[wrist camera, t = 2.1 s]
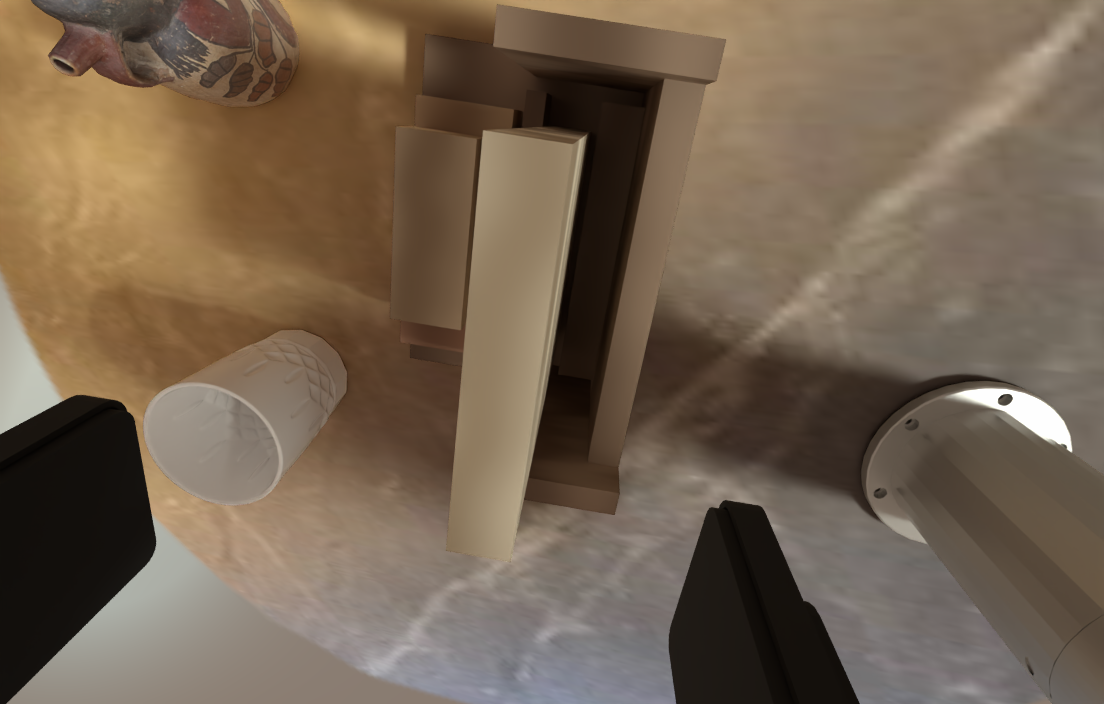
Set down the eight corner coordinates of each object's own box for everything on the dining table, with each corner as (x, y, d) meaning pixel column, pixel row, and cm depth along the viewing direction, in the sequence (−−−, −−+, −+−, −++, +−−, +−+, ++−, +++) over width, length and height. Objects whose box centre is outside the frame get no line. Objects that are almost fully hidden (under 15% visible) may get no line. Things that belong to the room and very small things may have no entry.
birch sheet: (590, 131, 31) (572, 144, 12) (558, 332, 35) (510, 562, 17) (555, 126, 31) (482, 129, 12) (527, 327, 35) (445, 550, 17)
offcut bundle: (522, 110, 30) (498, 107, 24) (497, 329, 35) (471, 379, 29) (432, 96, 31) (383, 89, 24) (420, 316, 36) (377, 363, 29)
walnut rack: (673, 74, 30) (726, 39, 18) (610, 381, 38) (614, 515, 25) (433, 37, 31) (311, -24, 18) (417, 349, 38) (322, 464, 25)
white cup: (228, 365, 40) (115, 437, 31) (294, 297, 37) (193, 354, 28) (311, 438, 42) (228, 528, 33) (378, 379, 39) (310, 457, 30)
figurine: (308, -9, 30) (140, -85, 19) (293, 124, 33) (139, 124, 22) (181, -53, 30) (-62, -155, 19) (177, 85, 33) (-39, 65, 22)
